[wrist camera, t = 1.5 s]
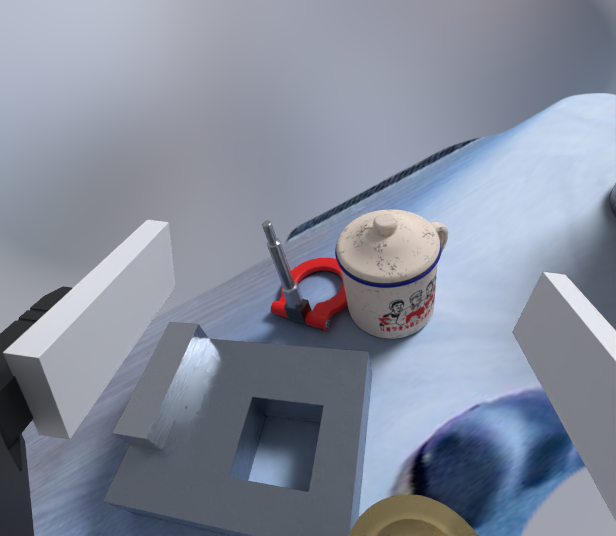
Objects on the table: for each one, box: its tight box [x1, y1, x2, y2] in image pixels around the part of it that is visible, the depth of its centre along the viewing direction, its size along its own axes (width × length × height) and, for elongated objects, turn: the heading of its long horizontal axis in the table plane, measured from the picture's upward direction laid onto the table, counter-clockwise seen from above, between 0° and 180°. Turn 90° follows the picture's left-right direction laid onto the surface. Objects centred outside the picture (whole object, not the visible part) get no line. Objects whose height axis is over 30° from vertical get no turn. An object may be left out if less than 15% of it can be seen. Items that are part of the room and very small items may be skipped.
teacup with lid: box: [335, 210, 448, 339], centre depth 36 cm, size 12×9×12 cm
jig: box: [103, 322, 372, 536], centre depth 30 cm, size 18×14×6 cm
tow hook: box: [262, 221, 348, 330], centre depth 38 cm, size 8×13×9 cm
